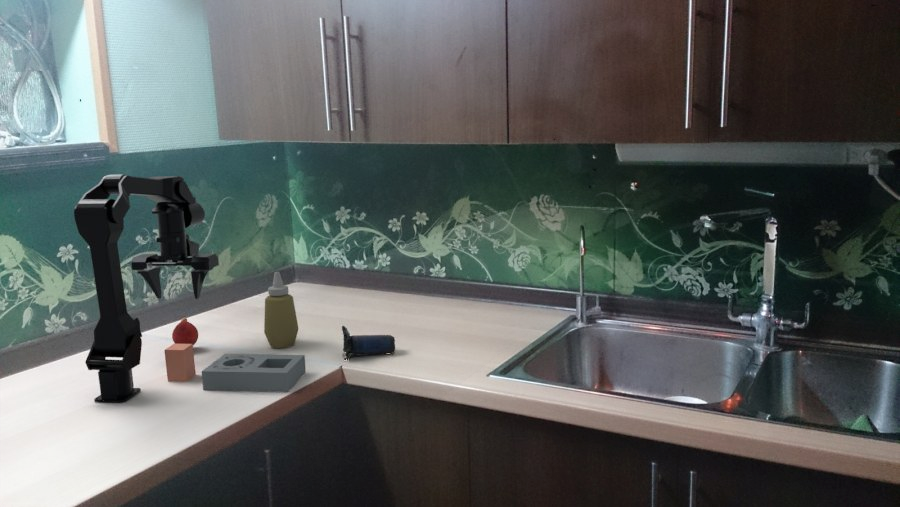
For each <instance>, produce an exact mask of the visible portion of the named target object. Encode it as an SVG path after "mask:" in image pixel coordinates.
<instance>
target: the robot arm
mask: <svg viewBox="0 0 900 507" xmlns="http://www.w3.org/2000/svg"><path fill="white" fill-rule="evenodd" d="M111 195H118V196H117V198H116V199H114V198H110V196H111ZM130 195H131V196H144V197H147V199H148V200H150V201H153V202H155V203H156V205H155V206H154V208H152V210H151V214H153V215H156V218H157V220H156V221H157V228H158V237H156V238H155V241H156V243H159V248H160V249H159V250H160V255H158V254H157V253H142V254H140V255H136V256H133V257H132V259H131V261H130V269H131V271H136V273H137V274H140V276H142V277H143V280H145V281H146V284H148V286H149V287H150V288H151V290H152V292H153V293H154V295H155V297H156V299H158V300H160V299H162V284H161V279H160V278H161V277H160V273H161V269H162V267H165V266H166V267H168V266H169V267H170V266H172V267H173V266H174V267H175V266H179V267H181V266H183V267H184V266H185V267H189V266H190V267H192V270H190V274H191V281H192V282H191V283H192V290H193V295H194V299H195V300H198V299H199V298H200V295H201V292H202V288H203V285H204V281H205V278H206V276H207V274H208V273H209V272H210V271H213V269H214V268H215V267H218V266H220V262H219V257H218V255H217V254H216V253H200V243H198V242H195V241H193V240H190V235H189V234H188V233H186V229H188V228H190V227H191V228H192V227H195V226H197V225H200V224H202V222H203V221H204V220H205V215H206V213H205V210H204V208H203V206H202V205H201V204H200V203H198V202H197V200H196V197H195V196H193V194H192V192H191V190H190V188H189V186H188V184H187V182H186V181H184V177H182V176H180V175H173V176H172V175H171V176H170V175H169V176H166V175H165V176H162V175H161V176H160V175H159V176H157V175H156V176H150V177H141V176H131V175H128V174H126V173H125V174H123V173H122V174H121V173H120V174H119V173H118V174H106V175H105V176H103V177H102V178H101V180H100V181H99V182H98V184H96V185H95V186H93V187H92V188H91V189H89V190H88V191H86V192H85V193H84V194H83V195H82V197H81V198H80V199H79V201H78V202H77V205H75V207H74V208H73V220H74V223H75V226H76V229H77V233H78V235H79V236H80V237H81V238H82V240H84V241H85V243H86V245H88V247H89V253H90V258H91V265H92V271H93V278H94V284H95V290H96V291H95V292H96V296H97V297H96V298H97V305H98V312H99V319H98V320H97V323H96V325H95V327H94V329H93V342H92V345H91V348H90V349H89V353H88V354H87V356H86V360H85V361H84V362H85V365H86V368H87V370H88V371H94V370H95V371H97V374H98V384H99V391H100V394H99V395H98V396H97V397H95V398H94V402H102V403H105V402H106V403H125V402H126V401H128V400H129V399H131V398H132V397H133V396H135V395H136V394H138V393H139V392H141V391H142V390H141V388H140V387H134V378H133V370H132V369H133V368H135V367H137V366H139V365H140V364H141V357H142V356H141V355H142V346H143V344H142V342H143V340H142V337H143V335H142V331H141V322H140V320H139V318H138V317H133V316H131V315H130V313H128V310H127V302H126V296H125V289H124V282H123V280H124V279H123V276H122V273H123V272H122V267H121V260H120V253H119V247H118V241H119V239H120V237H121V236H122V233H123V231H124V229H125V225H124V223H125V222H124V218H125V217H126V215H127V213H128V212H129V210H130V208H131V204H130V203H131V202H130ZM106 358H107V359H106ZM108 358H120V359H108ZM121 358H122V359H121Z"/></svg>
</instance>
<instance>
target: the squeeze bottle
mask: <svg viewBox="0 0 900 507" xmlns="http://www.w3.org/2000/svg"><path fill="white" fill-rule="evenodd" d="M267 293H268V296H266V297H265V299H264V326H263V327H264V328H263V332H264V336H265V337H266V339H267V343H268V345H269V346H270V347H271V348H273V349H284V348H289V347H293V346H294V345H295V343H296V340H297V335H298V332H299V328H300V327H299V324H298V318H297V312H296V307H295V302H294V296H292V295H291V294H290V293H289V286H288V285H285V284H284V281H283V280H282V276H281V272H280V271H275V272H274V273H273V280H272V286H269V287H268V288H267Z"/></svg>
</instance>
